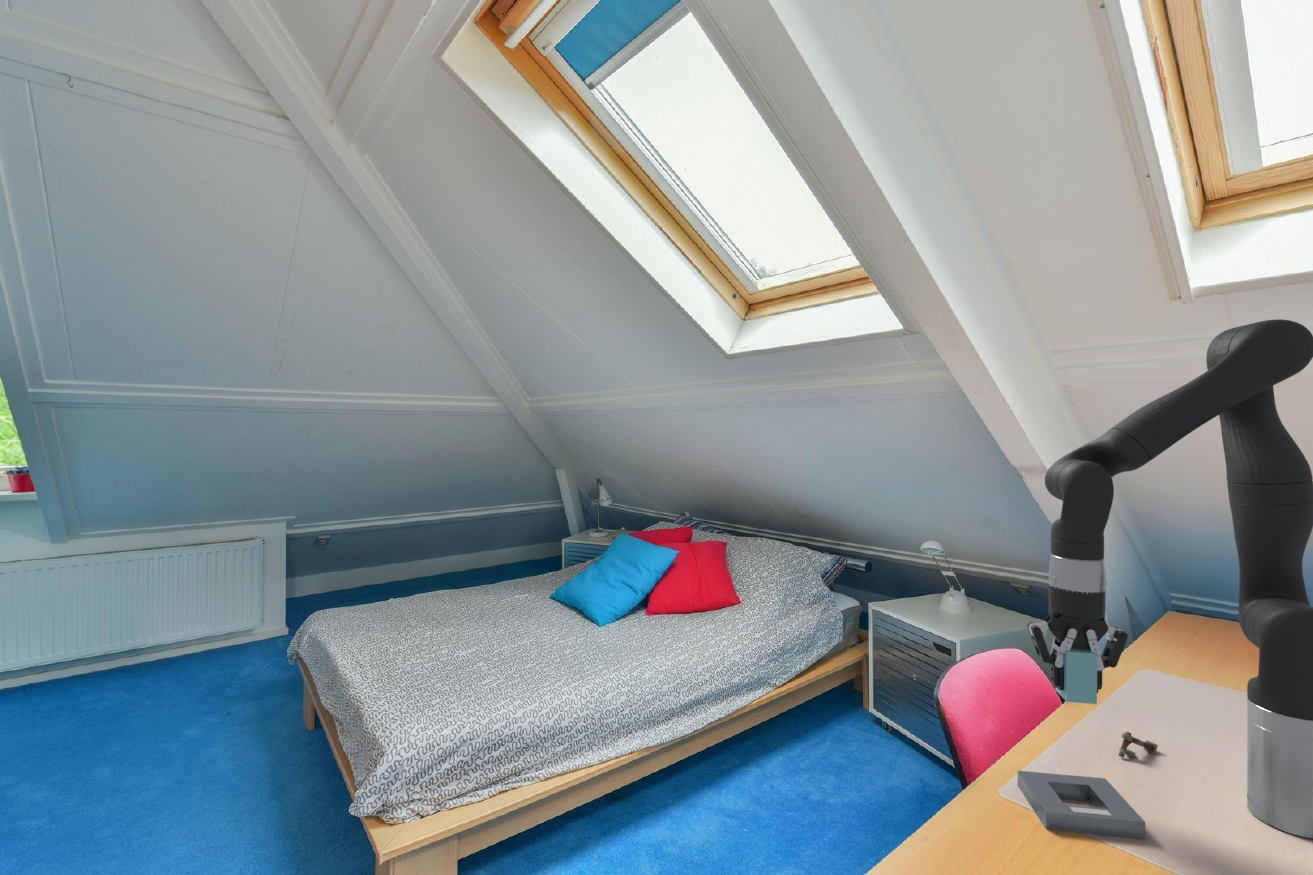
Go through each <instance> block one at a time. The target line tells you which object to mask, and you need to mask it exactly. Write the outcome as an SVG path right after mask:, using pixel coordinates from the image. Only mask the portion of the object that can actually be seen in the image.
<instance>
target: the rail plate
mask: <svg viewBox="0 0 1313 875" xmlns="http://www.w3.org/2000/svg"><path fill="white" fill-rule="evenodd" d="M1017 787H1018V788H1019V790H1020V791H1021V793H1022V794H1023V796H1024V797H1025V799H1026V801H1027V802H1028V804H1029V805H1030V807H1031V809H1032V810H1033V811H1034V813H1035V814H1036V816H1037V817H1038V818H1039V820H1040V822H1041V824H1042V825H1043V827H1044V828H1045V829H1046V830H1053V831H1055V830H1056V831H1065V832H1074V833H1082V834H1083V833H1084V834H1093V835H1103V836H1111V837H1121V838H1129V839H1130V838H1131V839H1141V840H1145V839H1146V821H1145V820H1144V819H1143V818H1142V817H1141V816H1140V814H1138V813H1137V811H1136V810H1135V809H1134V808H1133V807H1132V806H1131V805H1130V804H1129V803H1128V801H1127V800H1126V799H1125V798H1124V797H1123V795H1121V794H1120V793H1119V792H1118V790H1116V788H1115V787H1114V786H1113V785H1112V784H1111V782H1109V781H1108V780H1107V779H1106V778H1103V777H1093V776H1082V775H1071V774H1058V773H1048V772H1039V771H1037V772H1036V771H1025V770H1017ZM1062 799H1067V800H1077V801H1078V800H1079V801H1087V800H1088V801H1089V802H1090V804H1091V805H1092V806H1084V805H1073V804H1064V802H1063V801H1062Z"/></svg>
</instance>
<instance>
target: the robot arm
mask: <svg viewBox="0 0 1313 875" xmlns="http://www.w3.org/2000/svg"><path fill="white" fill-rule="evenodd" d="M1312 360H1313V334H1312V332H1311V331H1310V330H1309V329H1308V328H1307V327H1306V326H1304V325H1303V324H1301V323H1299V322H1297V321H1293V320H1291V319H1290V320H1289V319H1280V318H1279V319H1267V320H1262V321H1256V322H1253V323H1249V324H1244V325H1240V326H1235V327H1232V328H1228V329H1226V330H1224V331H1222V332H1220V333H1219V334H1217V335H1216V336H1215V337H1214V338H1213V339H1212V340H1211V341H1210V344H1209V345H1208V347H1207V350H1206V361H1205V362H1206V370H1207V371H1205V372H1204V373H1202V374H1200V375H1199V376H1197V377H1196V378H1194V379H1192V380H1191V381H1188V382H1187V383H1185V384H1183V385H1181V386H1179V387H1177V388H1176V389H1174V390H1172V391H1170V392H1169V393H1166V394H1164V395H1162V396H1160V397H1158V398H1156V399H1155V400H1152V401H1151V402H1149V403H1146V405H1143V406H1141V407H1140V408H1138V409H1137V410H1135V411H1134V412H1132V413H1130V414H1129V415H1128V416H1127V417H1125V418H1123V419H1122V420H1121V421H1120V422H1118V423H1116V424H1115V425H1114V426H1112V427H1110V429H1108V430H1107V431H1106V432H1105V433H1103V434H1102V435H1101V436H1100V437H1097V438H1096V439H1094V440H1092V441H1090V442H1088V443H1085V444H1083V445H1081V446H1080V447H1078V448H1076V449H1074V450H1072V451H1071V452H1068V453H1067V454H1065V455H1064V456H1062V457H1060V458H1059V459H1058V460H1056V461H1055V462H1054V463H1053V464H1051V466H1050V467H1049V468H1048V470H1047V471H1046V473H1045V476H1044V485H1045V488H1046V490H1047V492H1048V493H1049V494H1050V495H1051V496H1052V497H1054V498H1056V499H1058V500H1060V501H1062V506H1061V512H1060V517H1059V518H1058V519H1056V520H1054V521H1053V523H1052V525H1051V530H1050V559H1049V565H1048V615H1047V617H1046V618H1045V620H1044V621H1041V622H1037V623H1034V622H1033V621H1031V622H1028V623H1027V626H1026V627H1027V630H1028V632H1029V633H1028V634H1029V635H1030V638H1031V641H1032V643H1033V647H1034V650H1035V653H1036V655H1037V657H1038V658H1040V659H1041V660H1042V662H1044V663H1046V664H1049V666H1050V670H1049V671H1050V672H1049V673H1050V675H1049V676H1050V677H1049V678H1050V682H1051V683H1052V684H1053V685H1054V687H1055V689H1056V688H1057V689H1058V690H1064V668H1063V667H1062V666H1063V664H1064V661H1065V655H1066V651H1070V649H1071V648H1077V647H1080V648H1083V649H1090V652H1092V653H1097V694H1098V693H1099V691H1100V690H1102V689H1103V671H1104V669H1106V668H1107V669H1108V668H1113V669H1114V668H1116V667H1117V666H1118V664H1119V660H1120V658H1121V656H1122V654H1123V651H1124V648H1125V645H1126V643H1127V640H1128V638H1129V635H1128V633H1126V631H1123V630H1122V629H1121V628H1119V627H1118V626H1115V627H1114V626H1113V627H1112V626H1109V625H1108V623H1107V622H1106V610H1107V609H1106V601H1107V600H1106V597H1107V590H1106V588H1107V584H1108V583H1107V582H1108V581H1107V574H1106V573H1107V572H1106V565H1105V530H1106V526H1107V524H1108V522H1109V521H1108V520H1109V518H1110V513H1111V510H1112V505H1113V503H1114V502H1113V501H1114V497H1115V496H1114V494H1115V488H1114V486H1115V485H1114V481H1113V477H1115V476H1117V475H1118V474H1122V473H1126V472H1127V473H1128V472H1132V471H1135V470H1138V469H1140V468H1141V467H1143V466H1145V465H1146V464H1148V463H1149V462H1151V461H1152V460H1154V459H1155V458H1156V457H1158V456H1159V455H1161V454H1162V453H1163V452H1165V451H1166V450H1168V449H1169V448H1171V447H1172V446H1173V445H1175V444H1177V443H1178V442H1179V441H1180V440H1182V439H1183V438H1185V437H1187V436H1188V435H1189V434H1191V433H1192V432H1193V431H1194V432H1195V430H1197V429H1198V428H1200V427H1202V426H1203V425H1205V424H1206V423H1208V422H1210V421H1211V420H1213V419H1214V418H1216V417H1219V421H1220V422H1219V423H1220V430H1221V439H1222V445H1223V453H1224V460H1225V470H1226V472H1225V473H1226V474H1225V475H1226V485H1227V492H1228V502H1229V507H1230V512H1231V520H1232V526H1233V532H1234V534H1233V536H1234V539H1235V540H1234V541H1235V547H1236V552H1237V557H1238V565H1239V566H1238V567H1239V568H1238V569H1239V570H1238V571H1239V575H1238V576H1239V580H1238V581H1239V584H1238V585H1239V586H1238V588H1239V589H1238V622H1239V626H1240V629H1241V632H1242V633H1243V634H1244V636H1245V637H1246V639H1248V641H1249V642H1250V643H1252V645H1254V647H1256V648H1258V652H1259V653H1258V654H1259V655H1258V656H1259V657H1258V672H1257V673H1258V674H1257V676H1255V677H1251V678H1250V679H1249V680H1247V687H1246V688H1247V690H1246V691H1247V692H1246V694H1247V695H1246V697H1247V698H1246V705H1247V706H1246V708H1247V709H1246V710H1247V711H1246V712H1247V713H1246V715H1247V716H1246V719H1247V720H1246V721H1247V724H1246V725H1247V728H1246V729H1247V730H1246V734H1247V735H1246V738H1247V739H1246V740H1247V742H1246V746H1247V748H1246V750H1247V751H1246V752H1247V754H1246V755H1247V758H1246V759H1247V761H1246V765H1247V766H1246V770H1247V771H1246V773H1247V774H1246V778H1247V779H1246V782H1247V784H1246V787H1247V788H1246V800H1247V801H1246V802H1247V803H1246V804H1247V806H1246V807H1247V809H1248V810H1249V812H1250V813H1251V814H1252V815H1253V816H1255V817H1256V818H1257V819H1258V820H1260V821H1262V822H1263V823H1265V824H1267V825H1269V826H1271V827H1272V828H1276V829H1278V830H1280V831H1283V832H1285V833H1288V834H1292V835H1295V836H1299V837H1302V838H1307V839H1312V840H1313V606H1311V605H1310V601H1309V598H1308V594H1307V589H1306V585H1305V584H1306V583H1305V579H1304V573H1303V572H1304V569H1303V559H1304V553H1305V551H1306V547H1307V545H1308V541H1309V540H1310V538H1311V534H1312V531H1313V474H1312V473H1313V472H1312V470H1311V467H1310V463H1309V462H1308V460H1307V458H1306V456H1305V455H1304V453H1303V451H1302V450H1301V449H1300V447H1299V446H1298V444H1297V443H1296V441H1295V440H1294V439H1293V437H1292V436H1291V434H1290V433H1289V431H1288V430H1287V428H1286V427H1285V426H1284V424H1283V422H1282V420H1281V418H1280V415H1279V412H1278V410H1277V405H1276V399H1275V398H1276V397H1275V390H1274V386H1275V385H1277V384H1279V383H1281V382H1283V381H1285V380H1287V379H1289V378H1291V377H1294V376H1295V375H1297V374H1299V373H1301V371H1303V370H1304V369H1305V368H1306V367H1307V366H1308V365H1309V364H1310V362H1311V361H1312ZM1048 630H1049V631H1050V632H1051V634H1052V635H1053V639H1052V642H1051V650H1050V652H1049V650H1048V647H1047V643H1046V641H1045V638H1046V636H1047V631H1048ZM1105 635H1106V636H1105ZM1104 636H1105V637H1106V639H1107V641H1106V643H1105V646H1104V648H1103V651H1102V652H1101V649H1100V646H1099V643H1098V642H1099V641H1101V639H1102V638H1103V637H1104Z"/></svg>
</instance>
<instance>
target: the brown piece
mask: <svg viewBox="0 0 1313 875" xmlns="http://www.w3.org/2000/svg"><path fill="white" fill-rule="evenodd" d="M1121 738H1122V739H1123V741H1122V742H1121V743H1122V744H1121V747H1120V748H1119V753H1118V756H1119V757H1121V758H1123V759H1124V758H1125V755H1126V756H1128V757H1130V758H1131V757H1132V758H1135V756H1136V755H1137V754H1136V752H1134V750H1133V751H1132V750H1130V749H1128V747H1129V746H1130V745H1131V744H1134V745H1138V746H1140V747H1141V748H1142V747H1143V750H1145V749H1146V750H1145V751H1146V752H1147V751H1148V752H1150V753H1152V754H1153V753H1155V754H1156V753H1157V749H1158V746H1159V745H1158V744H1156V743H1155V742H1153V741H1150V740H1148V739H1146V740H1145V741H1143V740H1140V739H1139V738H1137V737H1135V736H1133V735H1132V733H1131V732H1129V731H1125V732H1124V731H1123V732H1122V733H1121Z"/></svg>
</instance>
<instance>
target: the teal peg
mask: <svg viewBox="0 0 1313 875" xmlns="http://www.w3.org/2000/svg"><path fill="white" fill-rule="evenodd" d="M1062 667H1063V668H1064V690H1058V689H1057V688H1056V687H1055V692H1057V693H1058V695H1059V696H1061V698H1062V699H1064V701H1066V702H1068V703H1077V704H1090V705H1097V704H1098V703H1097V702H1098V693H1097V653H1092V652H1090V649H1083V648H1080V647H1077V648H1071V649H1070V651H1066V655H1065V661H1064V664H1063V666H1062Z"/></svg>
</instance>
